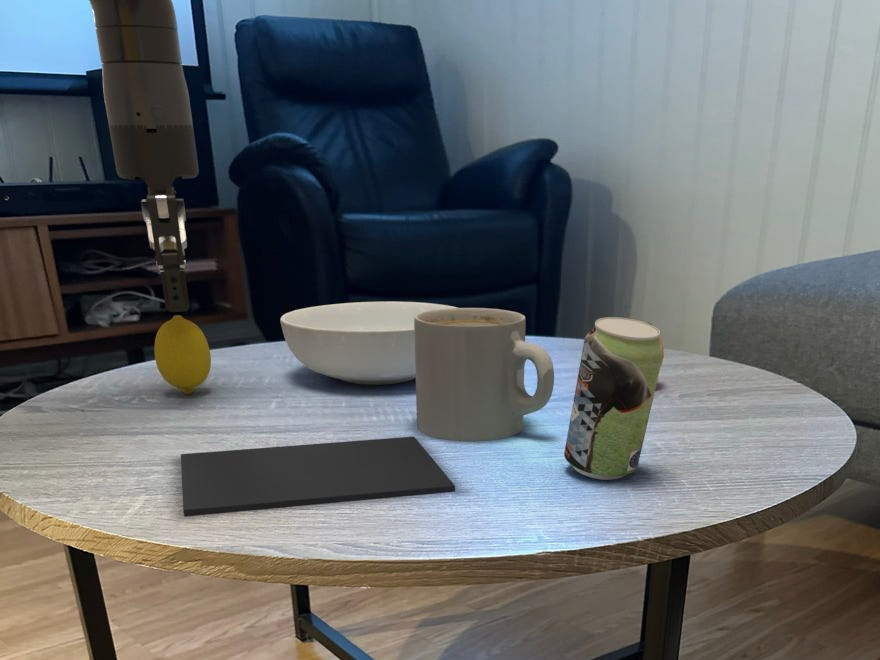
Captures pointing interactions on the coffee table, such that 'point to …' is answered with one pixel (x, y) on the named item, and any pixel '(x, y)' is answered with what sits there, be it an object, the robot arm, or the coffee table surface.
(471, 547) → the coffee table surface
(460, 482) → the coffee table surface
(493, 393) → the coffee mug
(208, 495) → the mat
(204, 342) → the lemon
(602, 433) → the beverage can
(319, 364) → the serving bowl
